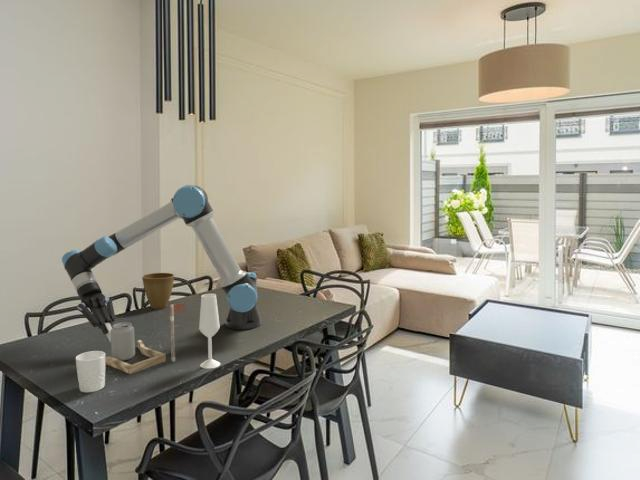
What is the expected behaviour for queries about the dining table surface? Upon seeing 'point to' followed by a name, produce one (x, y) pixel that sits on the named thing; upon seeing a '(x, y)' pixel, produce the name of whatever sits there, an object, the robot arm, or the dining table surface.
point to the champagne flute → (209, 325)
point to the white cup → (91, 371)
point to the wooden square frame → (148, 350)
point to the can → (122, 341)
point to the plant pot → (158, 289)
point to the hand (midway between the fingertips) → (113, 340)
